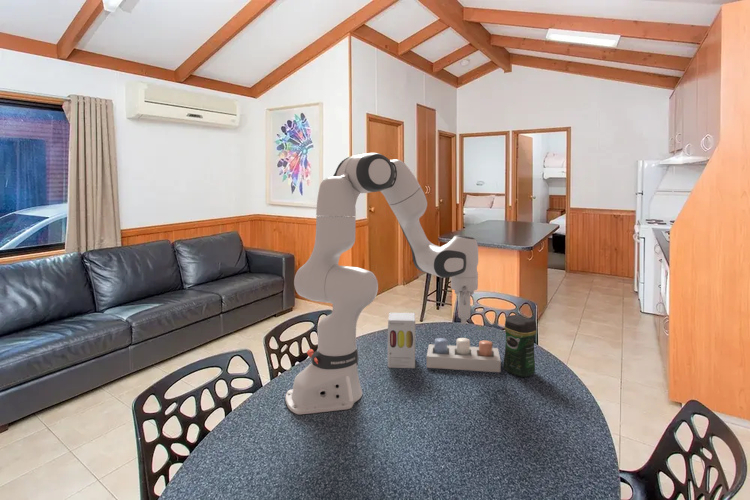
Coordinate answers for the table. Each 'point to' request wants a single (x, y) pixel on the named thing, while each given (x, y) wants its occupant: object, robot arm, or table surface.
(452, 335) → the table surface
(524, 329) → the coffee jar
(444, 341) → the slate blue key
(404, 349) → the supplement box
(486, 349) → the terracotta key
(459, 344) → the ivory key
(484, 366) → the white boxy piece
